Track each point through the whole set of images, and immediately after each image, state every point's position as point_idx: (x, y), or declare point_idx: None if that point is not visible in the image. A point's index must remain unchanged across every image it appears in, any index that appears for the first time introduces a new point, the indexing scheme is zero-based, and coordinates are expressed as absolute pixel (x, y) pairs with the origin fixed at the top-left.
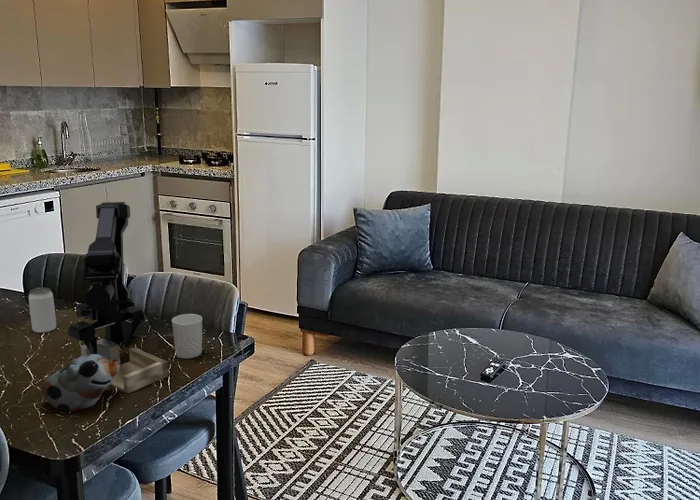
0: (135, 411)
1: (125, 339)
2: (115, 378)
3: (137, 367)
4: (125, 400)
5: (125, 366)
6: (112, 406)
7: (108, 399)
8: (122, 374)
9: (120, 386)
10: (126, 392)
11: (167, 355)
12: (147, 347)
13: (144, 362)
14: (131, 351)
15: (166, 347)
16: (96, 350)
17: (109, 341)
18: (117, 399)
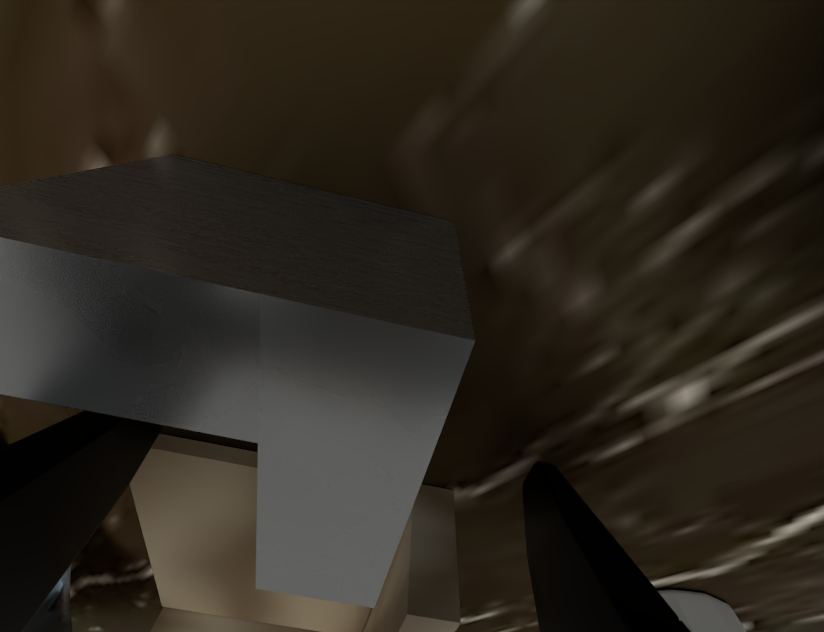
0: None
1: (560, 582)
2: (193, 545)
3: None
4: (136, 617)
5: None
6: (73, 609)
7: (83, 581)
8: (251, 546)
9: (164, 591)
10: None
11: None
12: (736, 431)
13: (376, 627)
14: (399, 618)
15: (743, 523)
16: (58, 566)
17: (402, 497)
18: (114, 600)
